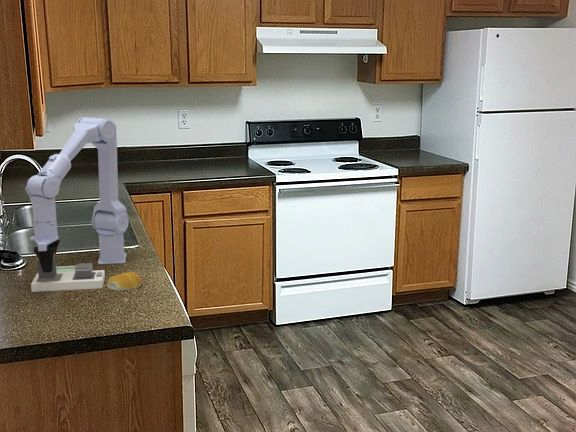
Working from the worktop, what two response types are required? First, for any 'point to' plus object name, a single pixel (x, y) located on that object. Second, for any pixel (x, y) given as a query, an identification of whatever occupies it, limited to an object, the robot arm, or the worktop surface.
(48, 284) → the strip
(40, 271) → the plug
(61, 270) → the tray
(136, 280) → the bread roll
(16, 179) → the worktop surface
